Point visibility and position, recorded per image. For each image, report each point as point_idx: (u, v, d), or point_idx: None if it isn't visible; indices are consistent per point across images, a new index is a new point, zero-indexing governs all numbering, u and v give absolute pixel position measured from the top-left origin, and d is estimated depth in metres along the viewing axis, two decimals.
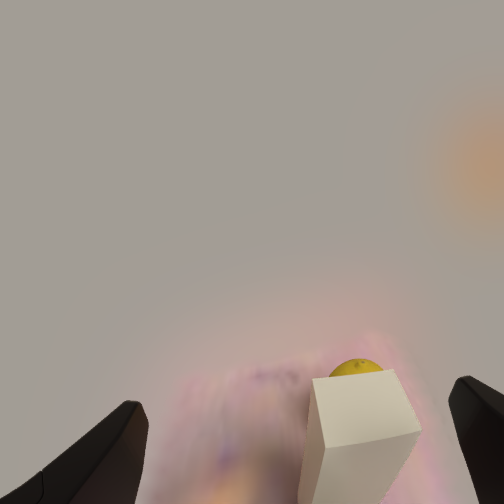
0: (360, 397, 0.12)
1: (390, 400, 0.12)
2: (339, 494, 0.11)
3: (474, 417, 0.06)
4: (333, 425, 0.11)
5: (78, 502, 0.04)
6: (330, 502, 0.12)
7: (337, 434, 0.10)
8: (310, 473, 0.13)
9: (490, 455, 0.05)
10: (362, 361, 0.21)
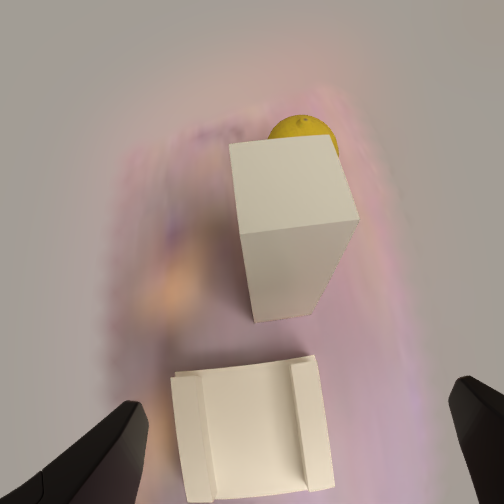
0: (285, 167, 0.11)
1: (321, 174, 0.11)
2: (275, 280, 0.14)
3: (474, 417, 0.06)
4: (249, 204, 0.11)
5: (78, 502, 0.04)
6: (268, 288, 0.15)
7: (255, 216, 0.10)
8: None
9: (490, 455, 0.05)
10: (304, 118, 0.19)
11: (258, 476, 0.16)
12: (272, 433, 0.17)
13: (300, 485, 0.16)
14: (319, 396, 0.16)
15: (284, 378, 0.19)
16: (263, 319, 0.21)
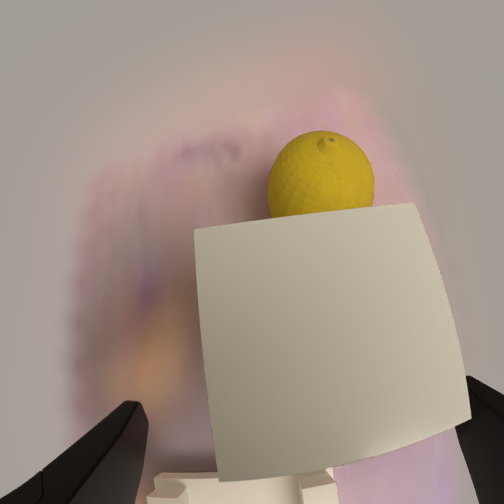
0: (328, 301, 0.05)
1: (408, 315, 0.04)
2: None
3: (474, 417, 0.06)
4: (241, 410, 0.04)
5: (78, 502, 0.04)
6: None
7: (254, 442, 0.04)
8: None
9: (490, 455, 0.05)
10: (330, 138, 0.13)
11: None
12: None
13: None
14: None
15: (291, 491, 0.12)
16: None
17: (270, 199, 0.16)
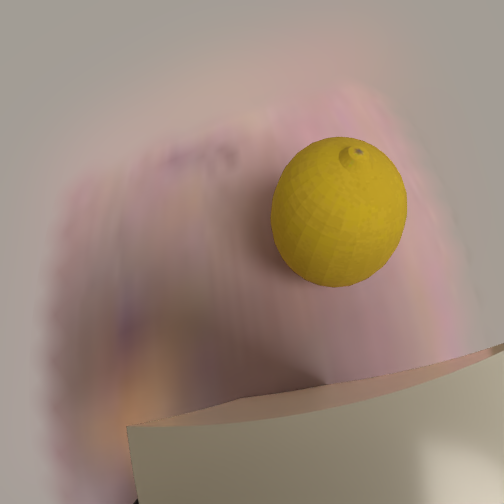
0: None
1: None
2: None
3: None
4: None
5: None
6: None
7: None
8: None
9: None
10: (357, 149, 0.09)
11: None
12: None
13: None
14: None
15: None
16: None
17: (275, 225, 0.12)
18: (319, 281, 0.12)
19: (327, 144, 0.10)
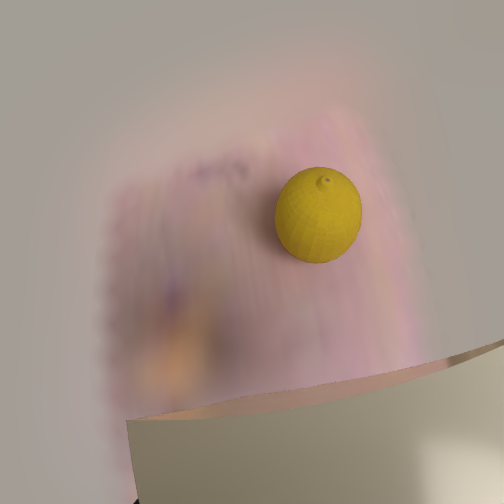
0: None
1: None
2: None
3: None
4: None
5: None
6: None
7: None
8: None
9: None
10: (326, 178, 0.16)
11: None
12: None
13: None
14: None
15: None
16: None
17: (277, 223, 0.19)
18: (306, 258, 0.20)
19: (309, 174, 0.17)
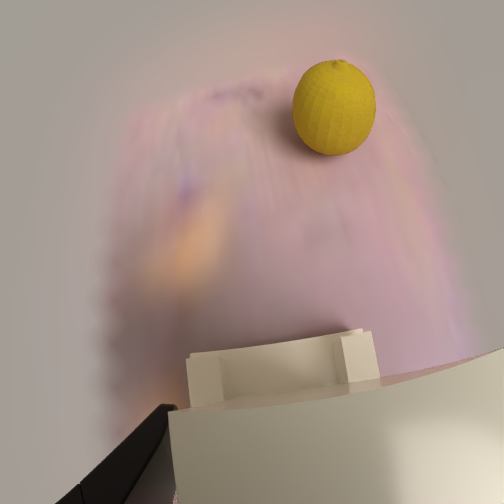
0: None
1: None
2: None
3: None
4: None
5: None
6: None
7: None
8: None
9: None
10: (341, 60, 0.16)
11: None
12: None
13: None
14: (376, 376, 0.13)
15: (327, 358, 0.15)
16: None
17: (296, 108, 0.18)
18: (325, 142, 0.19)
19: (325, 61, 0.17)
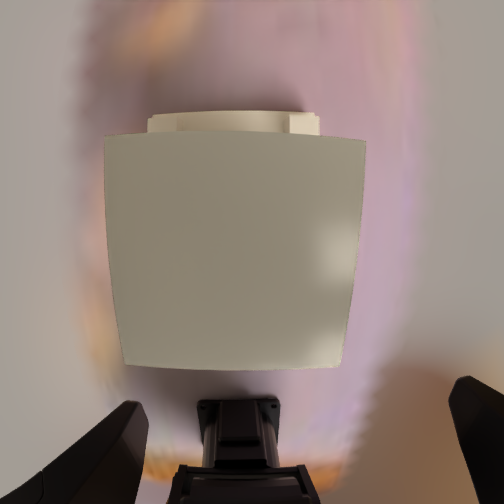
0: (226, 234, 0.05)
1: (307, 264, 0.05)
2: None
3: (474, 417, 0.06)
4: (140, 315, 0.05)
5: (78, 502, 0.04)
6: None
7: (149, 340, 0.05)
8: None
9: (490, 455, 0.05)
10: None
11: None
12: None
13: None
14: None
15: None
16: None
17: None
18: None
19: None
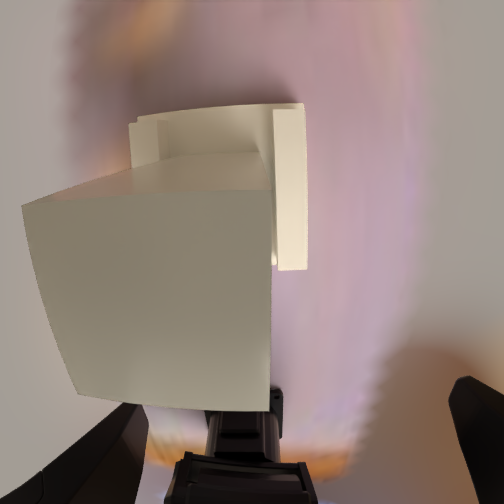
0: (133, 295, 0.05)
1: (215, 323, 0.05)
2: None
3: (474, 417, 0.06)
4: (79, 358, 0.05)
5: (78, 502, 0.04)
6: None
7: (91, 378, 0.05)
8: None
9: (490, 455, 0.05)
10: None
11: None
12: None
13: None
14: (302, 153, 0.14)
15: (264, 126, 0.16)
16: None
17: None
18: None
19: None
